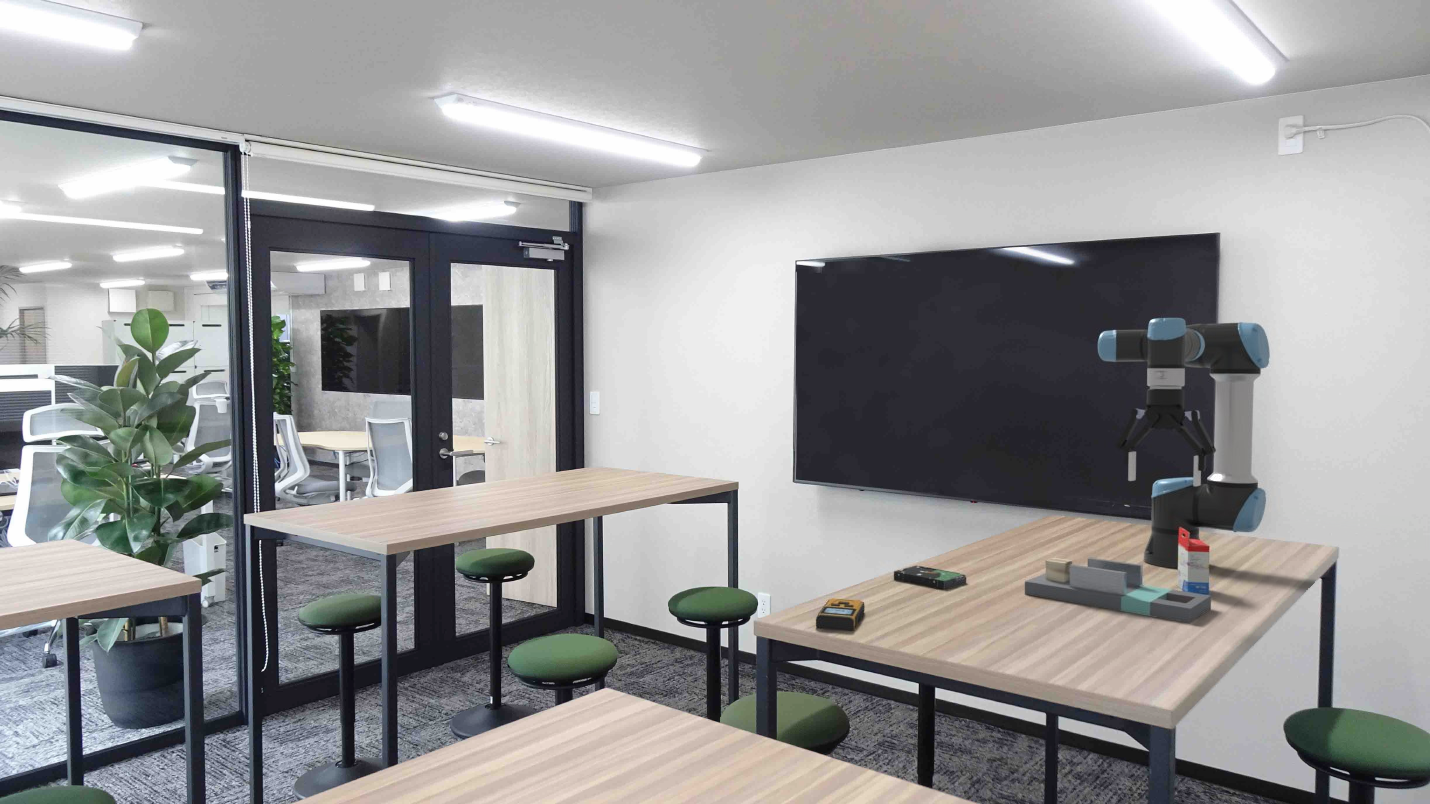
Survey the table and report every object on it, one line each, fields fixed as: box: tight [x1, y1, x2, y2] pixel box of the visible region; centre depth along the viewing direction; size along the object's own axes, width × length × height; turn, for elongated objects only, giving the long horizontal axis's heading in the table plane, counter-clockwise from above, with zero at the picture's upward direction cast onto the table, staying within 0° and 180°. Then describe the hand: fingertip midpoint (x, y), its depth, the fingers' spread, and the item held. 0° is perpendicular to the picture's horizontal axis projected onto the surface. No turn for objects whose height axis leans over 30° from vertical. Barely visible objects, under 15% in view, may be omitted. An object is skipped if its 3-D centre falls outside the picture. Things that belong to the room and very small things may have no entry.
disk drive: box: [893, 565, 967, 590], centre depth 231 cm, size 10×3×15 cm
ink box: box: [1177, 527, 1210, 595], centre depth 221 cm, size 8×5×15 cm, turn 168°
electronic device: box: [815, 598, 866, 632], centre depth 196 cm, size 8×16×3 cm, turn 163°
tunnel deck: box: [1024, 557, 1212, 624], centre depth 211 cm, size 15×36×8 cm, turn 47°
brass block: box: [1045, 557, 1073, 582], centre depth 220 cm, size 4×4×4 cm
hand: (1163, 483), depth 207 cm, fingers open, 13 cm apart
